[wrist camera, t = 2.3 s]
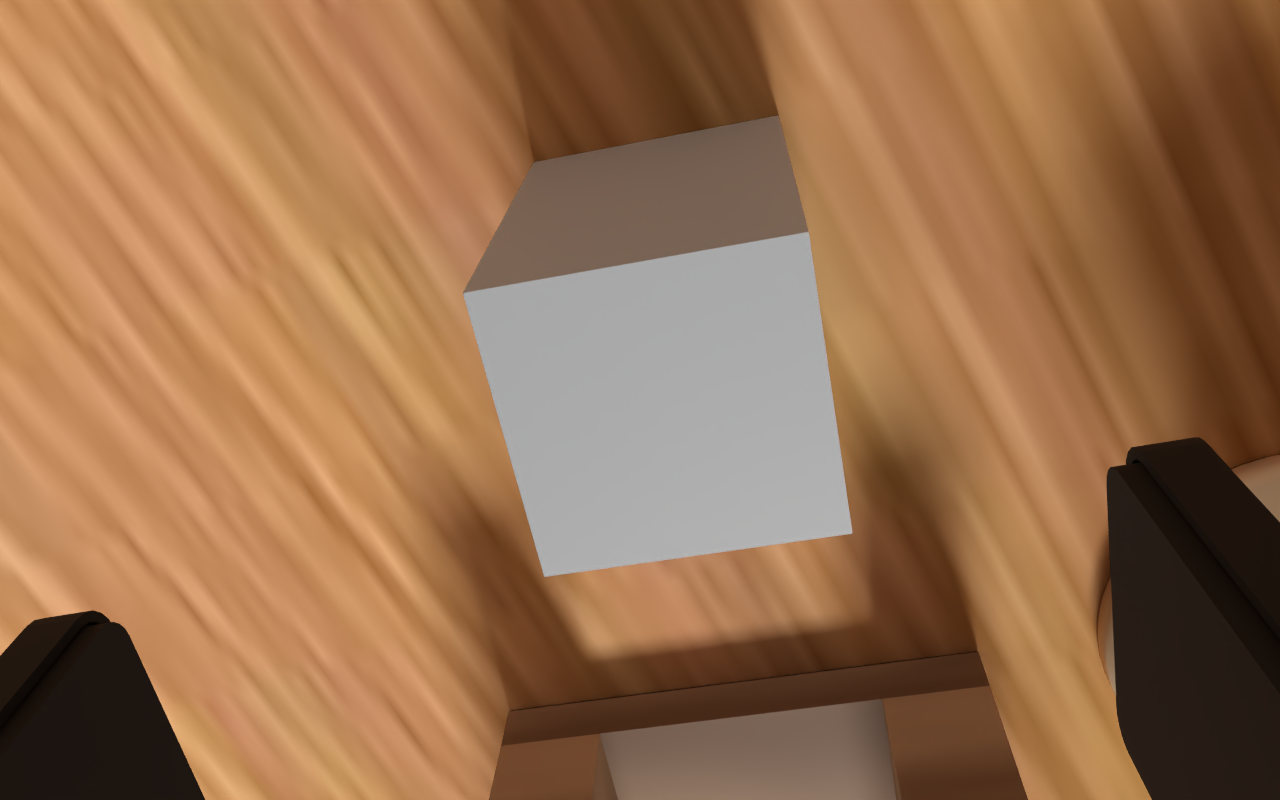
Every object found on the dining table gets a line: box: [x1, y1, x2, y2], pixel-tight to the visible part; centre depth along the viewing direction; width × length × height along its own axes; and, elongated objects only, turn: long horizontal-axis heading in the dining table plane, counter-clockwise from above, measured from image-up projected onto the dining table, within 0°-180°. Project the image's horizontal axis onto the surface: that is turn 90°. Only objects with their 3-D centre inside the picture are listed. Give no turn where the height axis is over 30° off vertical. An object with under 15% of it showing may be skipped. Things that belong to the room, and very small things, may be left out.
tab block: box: [463, 115, 853, 577], centre depth 16 cm, size 4×4×6 cm
